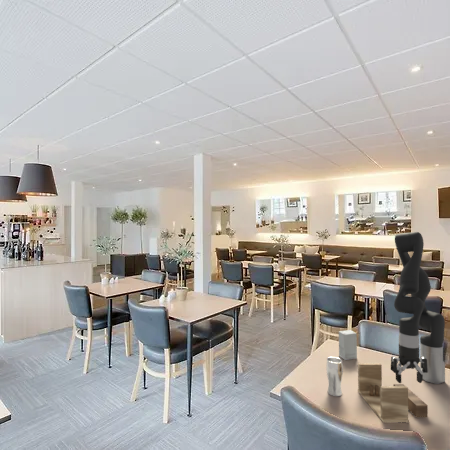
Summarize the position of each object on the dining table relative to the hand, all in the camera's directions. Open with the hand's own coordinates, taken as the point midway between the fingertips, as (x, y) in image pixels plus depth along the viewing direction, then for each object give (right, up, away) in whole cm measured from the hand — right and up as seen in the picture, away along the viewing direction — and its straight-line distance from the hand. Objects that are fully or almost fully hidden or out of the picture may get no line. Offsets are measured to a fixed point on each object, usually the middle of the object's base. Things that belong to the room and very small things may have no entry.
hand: (409, 382), depth 127 cm
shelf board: (0, -10, 0) cm, 10 cm away
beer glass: (-28, -10, +10) cm, 31 cm away
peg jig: (-12, -10, 0) cm, 15 cm away
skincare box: (-7, -10, +46) cm, 47 cm away
